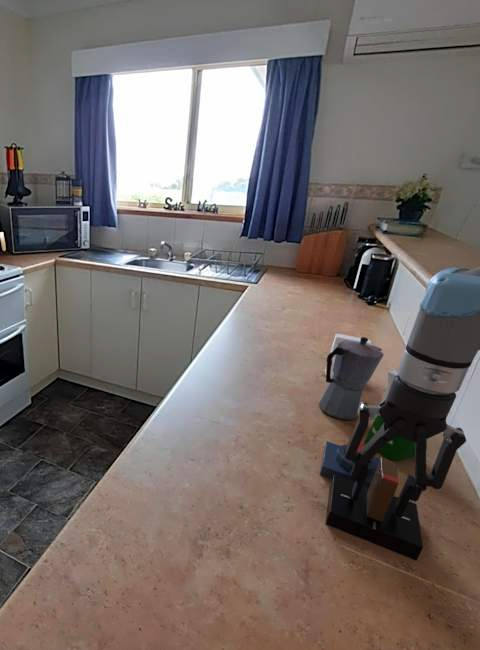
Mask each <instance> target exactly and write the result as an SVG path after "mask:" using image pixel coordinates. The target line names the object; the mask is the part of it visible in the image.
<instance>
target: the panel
mask: <svg viewBox="0 0 480 650" xmlns="http://www.w3.org/2000/svg"><path fill="white" fill-rule="evenodd" d="M354 483H355V482H353V481H350V480H347V479H344V478H341V477H339V476H336V475H334V476H333V479H331V483H330V485H329V490H328V500H327V507H326V515H325V526H329V527H331V528H334V529H336V530H339V531H341V532H344V533H346V534H348V535H351V536H354V537H356V538H358V539H361V540H364V541H366V542H369V543H371V544H374V545H376V546H378V547H381V548H383V549H386V550H389V551H391V552H393V553H396V554H399V555H401V556H403V557H406V558H409V559H410V560H413V561H417V560H418V558H419V556H420V555H421V552H422V551H423V549H424V545H423V539H422V531H421V525H420V518H419V511H418V505H417V503H416V502H414V501H411V500H409V503H408V505H407V507H406V509H405V511H404V513H403V516H402V518H401V517H398V516H396V508H395V504H396V502H397V499H398V497H399V496H395V495H394V496H393V498H392V500H391V503H390V505H389V507H388V510H387V512H386V514H385V517H384V519H383V521H382V522H380V521H377V520H375V519H372V518H369V517H367V492H368V489H369V487H367V486H364V485H363V486H362V489H361V492H360V494H359V497H358V499H357V501H355V500H352V489H353V486H354Z"/></svg>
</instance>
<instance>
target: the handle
mask: <svg viewBox="0 0 480 650" xmlns="http://www.w3.org/2000/svg"><path fill="white" fill-rule="evenodd" d="M398 486H399V478H398V469H397V462H394V461H391V460H388V459H387V458H385V457H380V462H379V464H378V467H377V469H376V472H375V474H374V477H373V479H372V482H371V484H370V487H369V489H368V492H367V517H369V518H372V519H375V520H377V521H380V522H382V521H383V519H384V517H385V514H386V512H387V510H388V507H389V505H390V503H391V500H392V498H393V496H395V493H396V491H397V489H398Z"/></svg>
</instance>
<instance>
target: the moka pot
mask: <svg viewBox="0 0 480 650" xmlns="http://www.w3.org/2000/svg"><path fill="white" fill-rule="evenodd" d="M360 338H361V340H360V342H358V341H349V340H344V341H342V342H340V343H338V347H337V348H335V350H334V351H333V352H331V351H330V352H331V353H330V352H329V354H328V355H327V356H326V366H327V369H326V368H325V370H326V374H325V382H326V383H328V385H327V387H326V389H325V390H324V393H323V395H322V396H321V398H320V399H319V402H318V406H319V408H320V409H321V411H322V412H323V413H325V414H327V415H329V416H331V417H334V418H336V419H340V420H345V421H352V420H355V419H356V418H357V416H358V413H359V409H360V403H361V399H362V395H363V390H364V389H365V387H366V384H367V383H368V382H370V380H371V378H372V376H373V374H374V373H375V371H376V369H377V368H378V366H379V364H380V362H381V361H382V359H383V357H384V353H383V352H382V351H383V349H382V348H381V347H378V346H376V345H373V344H370V345H368V344H366V343H367V341H368V340H369V338H368V337H364V336H361V337H360ZM334 355H336V357H335V362H334V367H333V372H334V373H333V376H332V379H331V376H330V372H331V365H332V358H333V357H334Z"/></svg>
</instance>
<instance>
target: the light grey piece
mask: <svg viewBox="0 0 480 650" xmlns="http://www.w3.org/2000/svg"><path fill="white" fill-rule="evenodd" d="M344 340H349V341H358V342H360V340H361V337H357V336H352V335H347V334H342V333H335V335H334V338H333V342H332V345H331V349H330V352H329V354H330V353H331V352H333V351H334V350H335V348H337V347H338V343H340V342H342V341H344ZM366 344H368V345H372V341H371V339H368V341H367V343H366ZM335 357H336V355H334V357H333V358H332V365H331V372H330V376H331V379H332V376H333V373H334V372H333V367H334V362H335ZM326 369H327V365H326V366H325V370H324V374H325V375H326Z"/></svg>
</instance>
